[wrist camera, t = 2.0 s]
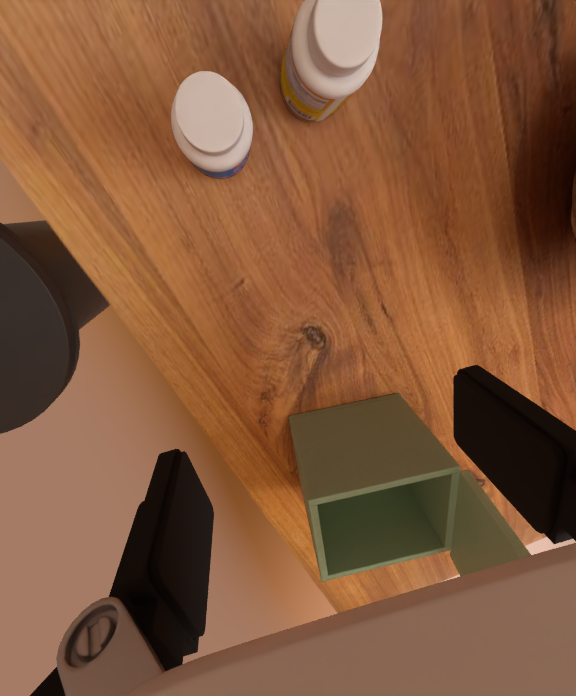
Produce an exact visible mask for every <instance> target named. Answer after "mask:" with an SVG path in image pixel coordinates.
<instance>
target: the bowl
mask: <svg viewBox="0 0 576 696" xmlns="http://www.w3.org/2000/svg"><path fill="white" fill-rule="evenodd" d="M571 224H572V229H573V234H574V237H575V240H576V171H575V176H574V182H573V187H572V210H571Z"/></svg>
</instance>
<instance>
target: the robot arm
mask: <svg viewBox="0 0 576 696" xmlns="http://www.w3.org/2000/svg"><path fill="white" fill-rule="evenodd" d="M454 439H455V441H456V443H457V444H458V446H459V447H460V448H461V449H462V450H463V451H464V452H465V453H466V455H467V456H468V457H469V458H470V459H471V460H472V461H473V462H474V463H475V464H476V466H477V467H478V468H479V469H480V470H481V471H482V472H483V473H484V474H485V475H486V477H487V478H488V479H489V480H490V481H491V482H492V483H493V484H494V485H495V486H496V488H497V489H498V490H499V491H500V492H501V493H502V494H503V495H504V496H505V497H506V499H507V500H508V501H509V502H510V503H511V504H512V505H513V506H514V507H515V508H516V510H517V511H518V512H519V513H520V514H521V515H522V516H523V517H524V518H525V519H526V521H527V522H528V523H529V524H530V525H531V526H532V527H533V528H534V529H535V530H536V531H537V532H539V533H541V534H542V533H544V534H545V535H546V536H547V537H548V538H549V539H550V540H551V541H552V542H553V543H554V544H556V543H559V542H563V541H566V540H570V539H574V540H575V541H576V431H575V430H574V429H572V428H571V427H569V426H568V425H566V424H565V423H563V422H562V421H560V420H559V419H557V418H556V417H554V416H553V415H551V414H550V413H548V412H547V411H545V410H544V409H542V408H541V407H540V406H538V405H537V404H535V403H534V402H532V401H531V400H529V399H528V398H526V397H525V396H523V395H522V394H520V393H519V392H517V391H516V390H514V389H513V388H511V387H510V386H508V385H507V384H505V383H504V382H502V381H501V380H499V379H498V378H496V377H495V376H494V375H492V374H491V373H489V372H488V371H486V370H485V369H483V368H482V367H480V366H478V365H474V366H470V367H466V368H463V369H460V370H458V372H457V375H455V376H454ZM213 518H214V512H213V507H212V504H211V502H210V500H209V498H208V496H207V494H206V492H205V490H204V488H203V486H202V484H201V482H200V479H199V478H198V475H197V474H196V471H195V469H194V467H193V465H192V463H191V461H190V459H189V457H188V455H187V453H186V452H180V450H179V449H174V450H171V451H168V452H164V453H161V454H160V455H159V456H158V459H157V463H156V466H155V469H154V472H153V475H152V479H151V481H150V485H149V488H148V491H147V495H146V497H145V501H143V502H142V503H141V504H140V505H139V507H138V509H137V512H136V515H135V518H134V522H133V525H132V528H131V531H130V534H129V537H128V540H127V543H126V546H125V549H124V552H123V555H122V558H121V561H120V564H119V567H118V570H117V573H116V576H115V580H114V583H113V586H112V589H111V592H110V595H109V597H108V598H103V599H100V600H98V601H96V602H94V603H92V604H91V605H90V606H89V607H87V608H86V609H85V610H84V611H82V612H81V614H80V615H79V616H78V617H77V618H76V619H75V620H74V621H73V622H72V624H71V625H70V627H69V629H68V630H67V631H66V633H65V635H64V637H63V639H62V641H61V643H60V645H59V649H58V654H57V667H56V668H55V669H54V670H53V672H51V674H50V675H49V676H48V677H47V678H46V679H45V680H44V681H43V682H42V683H41V684H40V685H39V686H38V687H37V689H36V690H35V691H34V692H33V693H32V694H31V695H30V696H576V543H574V544H570V545H567V546H563V547H559V548H556V549H552V550H548V551H545V552H541V553H538V554H535V555H531V556H528V557H524V558H521V559H518V560H514V561H511V562H508V563H504V564H501V565H497V566H494V567H491V568H487V569H484V570H481V571H477V572H474V573H470V574H467V575H464V576H460V577H457V578H454V579H450V580H447V581H444V582H440V583H437V584H434V585H430V586H427V587H424V588H420V589H417V590H414V591H411V592H407V593H404V594H401V595H397V596H394V597H391V598H387V599H384V600H381V601H378V602H374V603H371V604H368V605H364V606H361V607H358V608H355V609H351V610H348V611H345V612H341V613H338V614H335V615H332V616H329V617H326V618H322V619H319V620H316V621H312V622H309V623H306V624H303V625H300V626H296V627H293V628H290V629H286V630H283V631H280V632H277V633H274V634H270V635H268V636H264V637H261V638H258V639H255V640H251V641H249V642H245V643H242V644H239V645H236V646H233V647H231V648H227V649H225V650H221V651H219V652H215V653H212V654H209V655H206V656H203V657H200V658H198V659H195V660H193V661H190V662H187V663H185V664H182V662H183V656H186V655H189V654H193V653H196V652H197V651H198V640H199V637H200V636H203V634H204V632H205V624H206V611H207V598H208V584H209V571H210V558H211V545H212V533H213V520H214V519H213Z"/></svg>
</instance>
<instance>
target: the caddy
mask: <svg viewBox="0 0 576 696" xmlns="http://www.w3.org/2000/svg"><path fill="white" fill-rule="evenodd" d="M288 419H289V424H290V430H291V435H292V441H293V446H294V452H295V457H296V463H297V468H298V474H299V479H300V485H301V490H302V494H303V499H304V503H305V508H306V512H307V517H308V521H309V526H310V531H311V535H312V540H313V544H314V549H315V553H316V558H317V562H318V567H319V571H320V576H321V581H322V582H323V581H327V580H331V579H335V578H339V577H343V576H347V575H351V574H355V573H359V572H363V571H367V570H372V569H376V568H380V567H384V566H388V565H392V564H396V563H400V562H404V561H408V560H412V559H416V558H420V557H424V556H429V555H433V554H437V553H441V552H445V551H449V550H451V543H452V534H453V525H454V516H455V508H456V499H457V490H458V482H459V473H460V465H459V464H458V463H457V462H456V461H455V459H454V458H453V457H452V456H451V455H450V454H449V452H448V451H447V450H446V449H445V448H444V446H443V445H442V444H441V443H440V442H439V440H438V439H437V438H436V437H435V436H434V435H433V433H432V432H431V431H430V430H429V429H428V427H427V426H426V425H425V424H424V423H423V422H422V420H421V419H420V418H419V417H418V416H417V414H416V413H415V412H414V411H413V410H412V408H411V407H410V406H409V405H408V404H407V403H406V401H405V400H404V399H403V398H402V397H401V395H400V394H399V393H396V394H391V395H386V396H381V397H377V398H372V399H367V400H362V401H357V402H353V403H348V404H343V405H338V406H334V407H329V408H324V409H319V410H314V411H310V412H305V413H300V414H295V415H291V416H288Z"/></svg>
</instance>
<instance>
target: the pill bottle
mask: <svg viewBox="0 0 576 696" xmlns="http://www.w3.org/2000/svg"><path fill="white" fill-rule="evenodd" d="M171 126H172V131H173V134H174V137H175V140H176V142H177V144H178V146H179V148H180V149H181V151H182V152H183V154H184V155H185V156H186V157H187V158H188V159H189V160H190V161H191V163H192V164H193V165H194V166H195V167H196V168H197V169H198V170H199V171H201V172H202V173H204V174H205V175H207V176H209V177H212V178H216V179H225V178H229V177H232V176H234V175H235V174H237V173H238V172H239V171H240V170H241V169H242V168H243V166H244V165H245V163H246V161H247V159H248V156H249V151H250V146H251V143H252V136H253V123H252V117H251V113H250V110H249V107H248V105H247V103H246V101H245V99H244V97H243V96H242V94H241V93H240V92H239V91H238V89H237V88H236V87H235V86H234V85H232V84H231V83H230V82H229V81H228V80H226V79H225V78H224V77H222V76H221V75H219V74H217V73H214V72H210V71H199V72H196V73H193V74H191V75H190V76H188V77H187V78H186V79H185V80H184V81H183V82H182V83H181V85H180V86H179V88H178V91H177V94H176V95H175V98H174V100H173V104H172V108H171Z"/></svg>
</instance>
